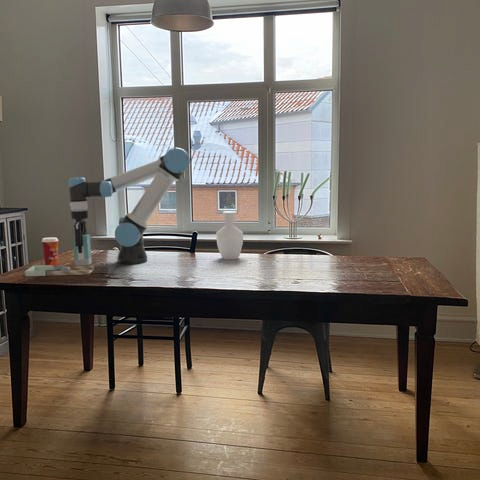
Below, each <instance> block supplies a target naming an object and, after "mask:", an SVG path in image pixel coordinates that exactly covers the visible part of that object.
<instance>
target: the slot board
mask: <svg viewBox="0 0 480 480" xmlns="http://www.w3.org/2000/svg"><path fill="white" fill-rule="evenodd" d="M62 266H63V267H70V271H54V270H46V276H73V275H74V276H76V275H77V276H78V275H79V276H80V275H82V276H83V275H84V276H85V275H87V276H88V275H90V274H91V273H92V272H93V271H94V270H95V266H94V265H81V266H75V265H73V266H71V265H69V266H66V265H62ZM53 269H54V266H53Z"/></svg>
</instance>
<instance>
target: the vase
mask: <svg viewBox="0 0 480 480" xmlns="http://www.w3.org/2000/svg"><path fill="white" fill-rule="evenodd" d="M237 213H238V212H237V211H235V210H234V211H233V210H231V211H230V210H229V211H228V210H225V211H222V215H223V219H224V222H225V225H224V226H223V227H221V228H220V229H219V230H217V231H216V234H215V235H216V236H215V237H216V244H217V249H218V251H219V254H220V255H221V258H222V259H223V258H224V260H229V259H232V260H237V258H238V259H239V257H240V255H241V252H242V247H243V244H244V231H242V230H241V229H240V228H238V227H237V226H236V225H235V220H236V217H237Z"/></svg>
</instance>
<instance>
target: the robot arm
mask: <svg viewBox="0 0 480 480" xmlns="http://www.w3.org/2000/svg"><path fill="white" fill-rule="evenodd" d="M190 162H191V159H190V155H189V154H188V152H187V151H186V150H185V149H183V148H182V147H173V148H172V147H171V148H170V149H168V150H167V151H166V153H165V154H164V155H161V156H160V157H158V159H157V160H154V161H152V162H150V163H149V162H148V163H146V164H144V165H140V166H138V167H135V168H133V169H131V170H127V171H125V172H123V173H120V174H117V175H114V176H112V177H110V178H109V177H108V178H106V179H103V180H99V181H86V178H85V177H70V178H69V179H68V191H69V202H70V203H69V205H68V206H70V210H71V212H70V216H71V219H72V220H75V223H74V225H73V227H74V236H75V242H76V245H75V246H77V251H78V260H84V247H83V238H82V236H83V235H88V232H87V231H88V230H87V229H88V228H87V221H85V219H88V218H89V213H88V212H89V211H88V198H109V197H110V198H111V197H112V196H113V195H114V193H117V192H120V191H122V190H126V189H127V188H130V187H133V186H135V185H138V184H140V183H144V182H146V181H149V180H152V181H151V182H150V184H149V185H148V187H147V188H146V189H145V192H144V194H143V195H142V196H141V197H140V199H139V200H138V202H137V204H136V205H135V207H134V208H133V210H132V211H131V212H129V213H126V214H125V216H124V217H120V218H119V221H118V225H117V226H116V227H115V230H114V238H115V240H116V242H117V243H118V244H119V245H120V247H119V250H118V255H117V257H116V261H117V263H119V264H125V265H134V264H136V265H137V264H143V263H146V262H148V255H147V253H146V250H145V246H144V233H145V231H146V229H147V228H148V224H147V223H148V221H149V219H150V218H151V217H152V215H153V213H154V212H155V211H156V209H157V208H158V206H159V205H160V203H161V202H162V200H163V199H164V197H165V196H166V194H167V193H168V191H169V190H170V188H171V187H172V186H173V183H174V182H178V181H179V180H180V179H181V177H182V176H183V175H184V173H185V172H186V170H187V169H188V168H189V166H190Z"/></svg>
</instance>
